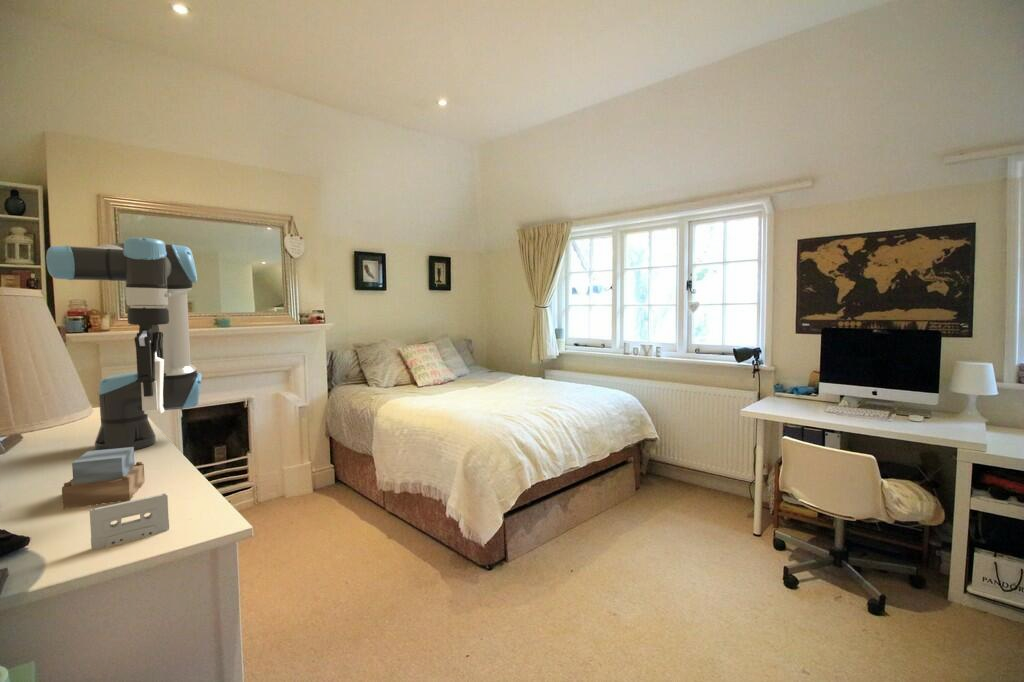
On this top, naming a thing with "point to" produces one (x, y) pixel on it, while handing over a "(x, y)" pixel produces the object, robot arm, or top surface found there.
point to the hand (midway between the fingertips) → (153, 407)
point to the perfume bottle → (158, 385)
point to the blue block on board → (103, 478)
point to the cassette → (131, 530)
